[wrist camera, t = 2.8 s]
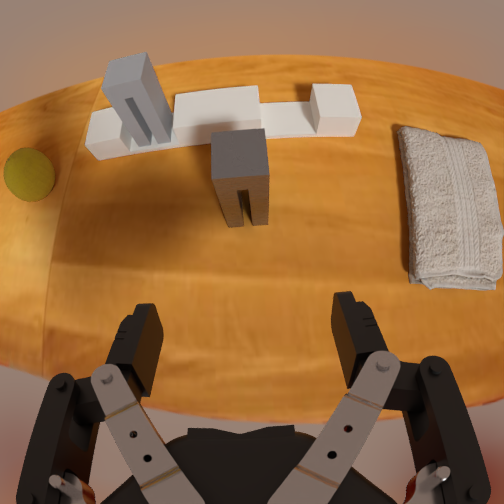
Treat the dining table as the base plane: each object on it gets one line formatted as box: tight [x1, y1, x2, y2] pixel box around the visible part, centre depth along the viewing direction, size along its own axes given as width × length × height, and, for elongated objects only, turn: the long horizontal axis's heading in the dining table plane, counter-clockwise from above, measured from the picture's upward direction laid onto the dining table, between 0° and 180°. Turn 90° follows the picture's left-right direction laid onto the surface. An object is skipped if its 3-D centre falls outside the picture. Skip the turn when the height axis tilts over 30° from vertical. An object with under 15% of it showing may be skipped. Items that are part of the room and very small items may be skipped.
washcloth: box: [397, 126, 504, 290], centre depth 28 cm, size 12×18×3 cm, turn 176°
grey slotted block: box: [211, 128, 269, 227], centre depth 25 cm, size 4×4×10 cm
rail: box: [85, 52, 362, 161], centre depth 27 cm, size 28×4×10 cm, turn 94°
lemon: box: [4, 148, 55, 202], centre depth 27 cm, size 6×6×8 cm
